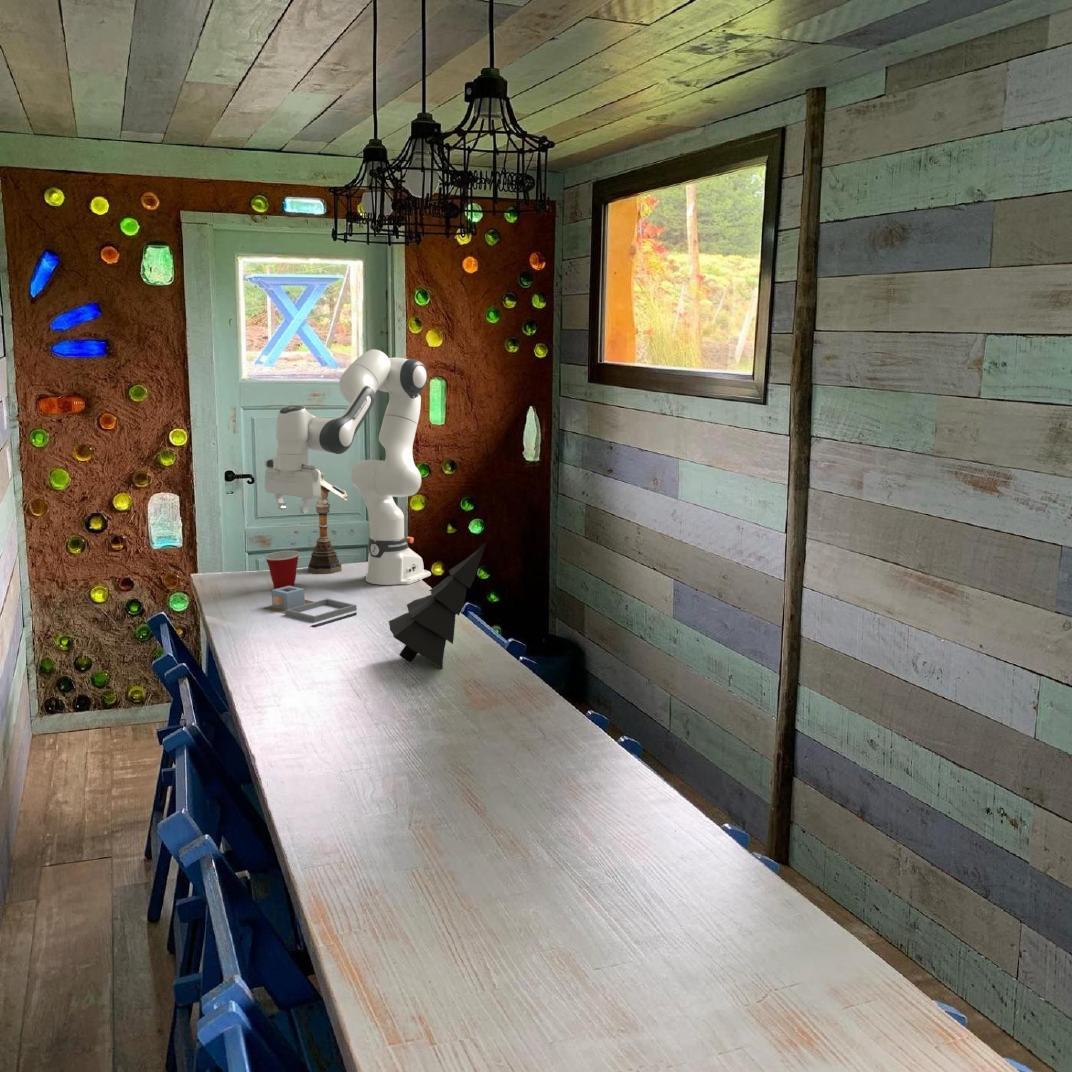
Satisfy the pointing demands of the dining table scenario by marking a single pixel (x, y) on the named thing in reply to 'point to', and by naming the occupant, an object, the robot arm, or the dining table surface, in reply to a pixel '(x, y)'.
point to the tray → (344, 609)
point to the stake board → (283, 609)
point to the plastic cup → (283, 567)
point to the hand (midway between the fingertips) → (292, 511)
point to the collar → (288, 597)
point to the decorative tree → (435, 614)
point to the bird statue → (325, 534)
